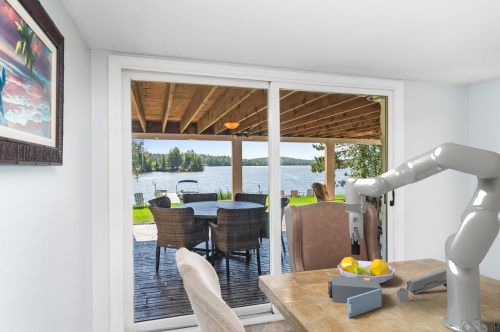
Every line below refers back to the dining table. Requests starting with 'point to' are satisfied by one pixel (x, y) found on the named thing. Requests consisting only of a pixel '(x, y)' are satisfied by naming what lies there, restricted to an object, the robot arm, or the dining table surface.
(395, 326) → the dining table surface
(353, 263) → the fruit bowl
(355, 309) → the side door
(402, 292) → the pale grey angled bracket
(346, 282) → the grey block
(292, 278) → the dining table surface
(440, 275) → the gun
